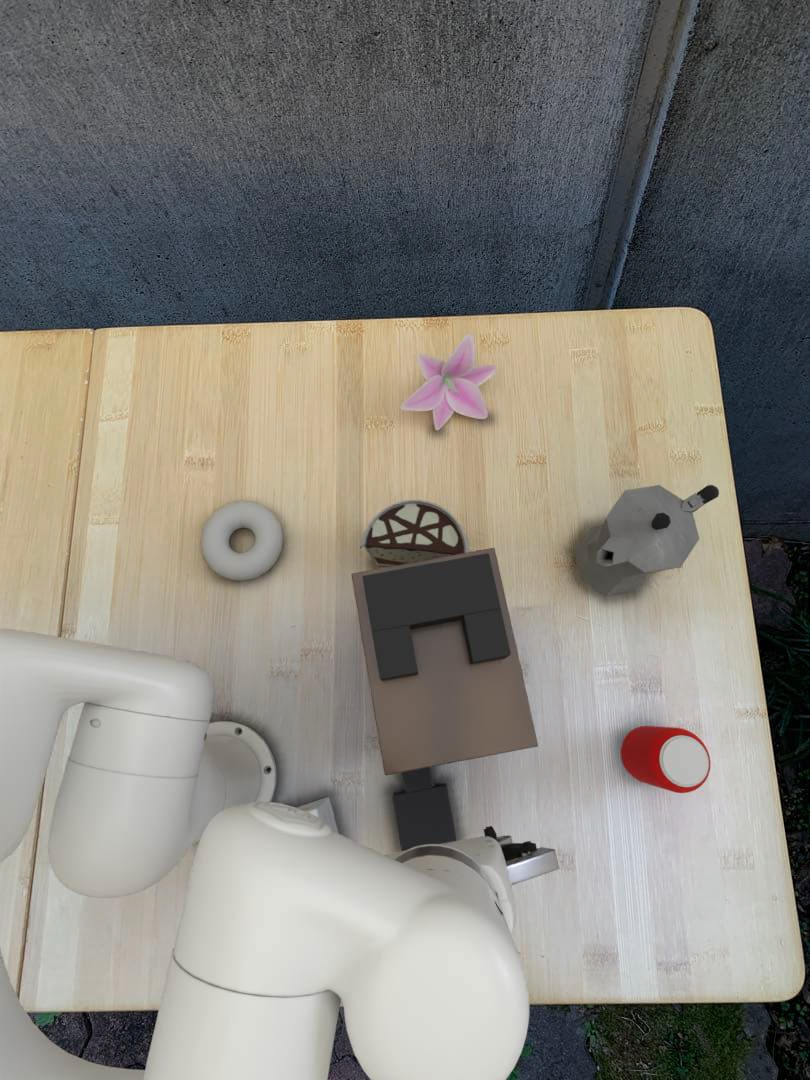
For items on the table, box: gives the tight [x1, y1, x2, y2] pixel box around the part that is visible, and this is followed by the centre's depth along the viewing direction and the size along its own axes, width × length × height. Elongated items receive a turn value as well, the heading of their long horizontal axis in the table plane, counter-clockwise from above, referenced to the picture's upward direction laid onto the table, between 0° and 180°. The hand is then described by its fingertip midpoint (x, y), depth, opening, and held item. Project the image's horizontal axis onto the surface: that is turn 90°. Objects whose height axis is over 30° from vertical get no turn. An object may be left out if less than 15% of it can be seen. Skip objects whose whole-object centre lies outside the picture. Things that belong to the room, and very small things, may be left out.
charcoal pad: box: [392, 767, 458, 851], centre depth 75 cm, size 6×9×3 cm, turn 10°
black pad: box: [363, 553, 511, 681], centre depth 53 cm, size 10×8×3 cm
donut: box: [200, 500, 284, 581], centre depth 83 cm, size 10×4×10 cm
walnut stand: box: [351, 547, 539, 776], centre depth 67 cm, size 12×16×27 cm
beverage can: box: [620, 725, 711, 794], centre depth 72 cm, size 6×6×12 cm
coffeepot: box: [574, 484, 720, 598], centre depth 75 cm, size 15×9×18 cm, turn 121°
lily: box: [399, 332, 499, 431], centre depth 85 cm, size 12×12×10 cm
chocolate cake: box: [359, 499, 471, 567], centre depth 79 cm, size 12×6×10 cm, turn 84°
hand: (432, 858), depth 54 cm, fingers open, 9 cm apart
